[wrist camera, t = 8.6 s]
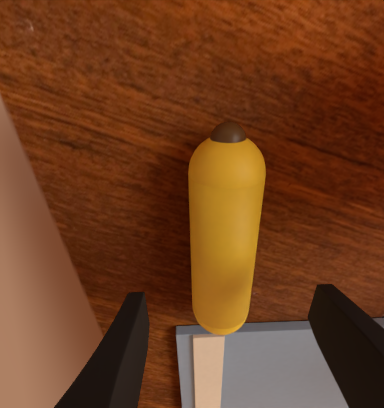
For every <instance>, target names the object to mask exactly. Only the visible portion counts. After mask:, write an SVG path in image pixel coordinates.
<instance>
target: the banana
mask: <svg viewBox="0 0 384 408" xmlns="http://www.w3.org/2000/svg"><path fill="white" fill-rule="evenodd" d="M265 177H266V167H265V162H264V158H263V155H262V153H261V151H260V150H259V149H258V147H257V146H256V145H255V144H254V143H253V142H252V141H251V140H249V139H248V138H246V135H245V132H244V130H243V129H242V128H241V127H240V126H239V125H238V124H236V123H233V122H224V123H221V124H219V125H218V126H216V127H215V128H214V130H213V131H212V133H211V136H210V138H208V139H206V140H205V141H204V142H202V143H201V144H200V145H199V146H198V147H197V148H196V150H195V151H194V153H193V155H192V157H191V160H190V163H189V171H188V181H189V213H190V245H191V276H192V306H193V312H194V315H195V317H196V319H197V321H198V323H199V324H200V325H201V326H202V327H203V328H204V329H205V330H207V331H208V332H210V333H213V334H216V335H227V334H231V333H233V332H235V331H237V330H238V329H239V328H240V327H241V326H242V325H243V324H244V322H245V320H246V318H247V315H248V312H249V305H250V297H251V289H252V281H253V273H254V265H255V257H256V249H257V241H258V233H259V225H260V217H261V209H262V201H263V193H264V185H265Z"/></svg>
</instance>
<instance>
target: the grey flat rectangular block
mask: <svg viewBox="0 0 384 408" xmlns="http://www.w3.org/2000/svg"><path fill="white" fill-rule="evenodd" d="M372 319H373V320H375V321H376V322H377V323H378V324H379V325H381V326H382V327H383V328H384V318H372ZM176 343H177V355H178V366H179V378H180V390H181V402H182V408H349V407H348V405H347V403H346V401H345V399H344V397H343V395H342V393H341V391H340V389H339V387H338V385H337V383H336V381H335V379H334V377H333V375H332V373H331V371H330V369H329V367H328V365H327V363H326V361H325V359H324V357H323V355H322V352H321V350H320V348H319V346H318V344H317V342H316V339H315V337H314V334H313V331H312V329H311V326H310V323H309V321H288V322H263V323H244V324H243V325H242V326H241V327H240V328H239V329H238V330H237V331H235V332H233V333H231V334H227V335H216V334H213V333H210V332H208V331H207V330H205V329H204V328H203V327H202V326H201V325H188V326H176Z"/></svg>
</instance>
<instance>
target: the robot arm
mask: <svg viewBox="0 0 384 408" xmlns="http://www.w3.org/2000/svg"><path fill="white" fill-rule="evenodd" d="M308 320H309V323H310V326H311V329H312V331H313V334H314V337H315V339H316V342H317V344H318V346H319V348H320V350H321V352H322V355H323V357H324V359H325V361H326V363H327V365H328V367H329V369H330V371H331V373H332V375H333V377H334V379H335V381H336V383H337V385H338V387H339V389H340V391H341V393H342V395H343V397H344V399H345V401H346V403H347V405H348V407H349V408H384V328H383V327H382V326H381V325H379V324H378V323H377V322H376V321H375V320H373V319H372V318H371V317H370V316H369V315H367V314H366V313H365V312H364V311H363V310H362V309H360V308H359V307H358V306H357V305H356V304H355V303H353V302H352V301H351V300H350V299H349V298H348V297H347V296H345V295H344V294H343V293H342V292H341V291H340V290H338V289H337V288H336V287H335V286H334V285H332V284H320V285H317V287H316V290H315V294H314V297H313V301H312V304H311V307H310V311H309V314H308ZM148 338H149V318H148V312H147V305H146V299H145V293H144V292H131V293H129V294H127V296H126V298H125V300H124V302H123V304H122V306H121V308H120V310H119V312H118V314H117V315H116V317H115V319H114V321H113V323H112V324H111V326H110V328H109V329H108V331H107V333H106V334H105V336H104V337H103V339H102V341H101V342H100V344H99V346H98V347H97V349H96V350H95V352H94V353H93V355H92V356H91V358H90V359H89V361H88V362H87V364H86V365H85V367H84V368H83V369H82V371H81V372H80V374H79V375H78V377H77V378H76V379H75V381H74V382H73V383H72V385H71V386H70V388H69V389H68V390H67V391H66V393H65V394H64V395H63V397H62V398H61V399H60V400H59V402H58V403H57V404H56V405H55V407H54V408H137V406H138V401H139V395H140V389H141V384H142V378H143V373H144V367H145V362H146V356H147V350H148Z"/></svg>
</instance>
